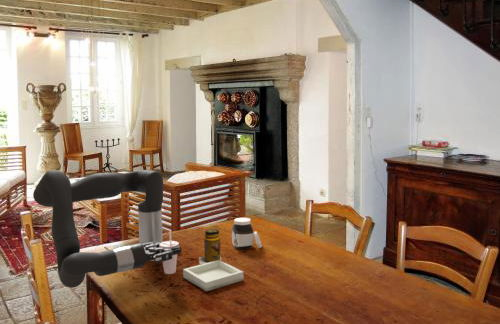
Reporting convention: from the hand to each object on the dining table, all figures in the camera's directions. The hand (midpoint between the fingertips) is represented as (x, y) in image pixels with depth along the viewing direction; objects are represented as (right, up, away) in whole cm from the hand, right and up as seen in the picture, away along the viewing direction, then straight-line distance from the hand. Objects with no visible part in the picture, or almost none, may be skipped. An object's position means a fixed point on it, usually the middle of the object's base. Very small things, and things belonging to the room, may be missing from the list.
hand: (175, 246), depth 156 cm
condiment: (+9, -10, +25) cm, 29 cm away
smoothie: (-2, -8, 0) cm, 9 cm away
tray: (+12, -12, +7) cm, 19 cm away
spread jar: (+24, -8, +41) cm, 48 cm away
